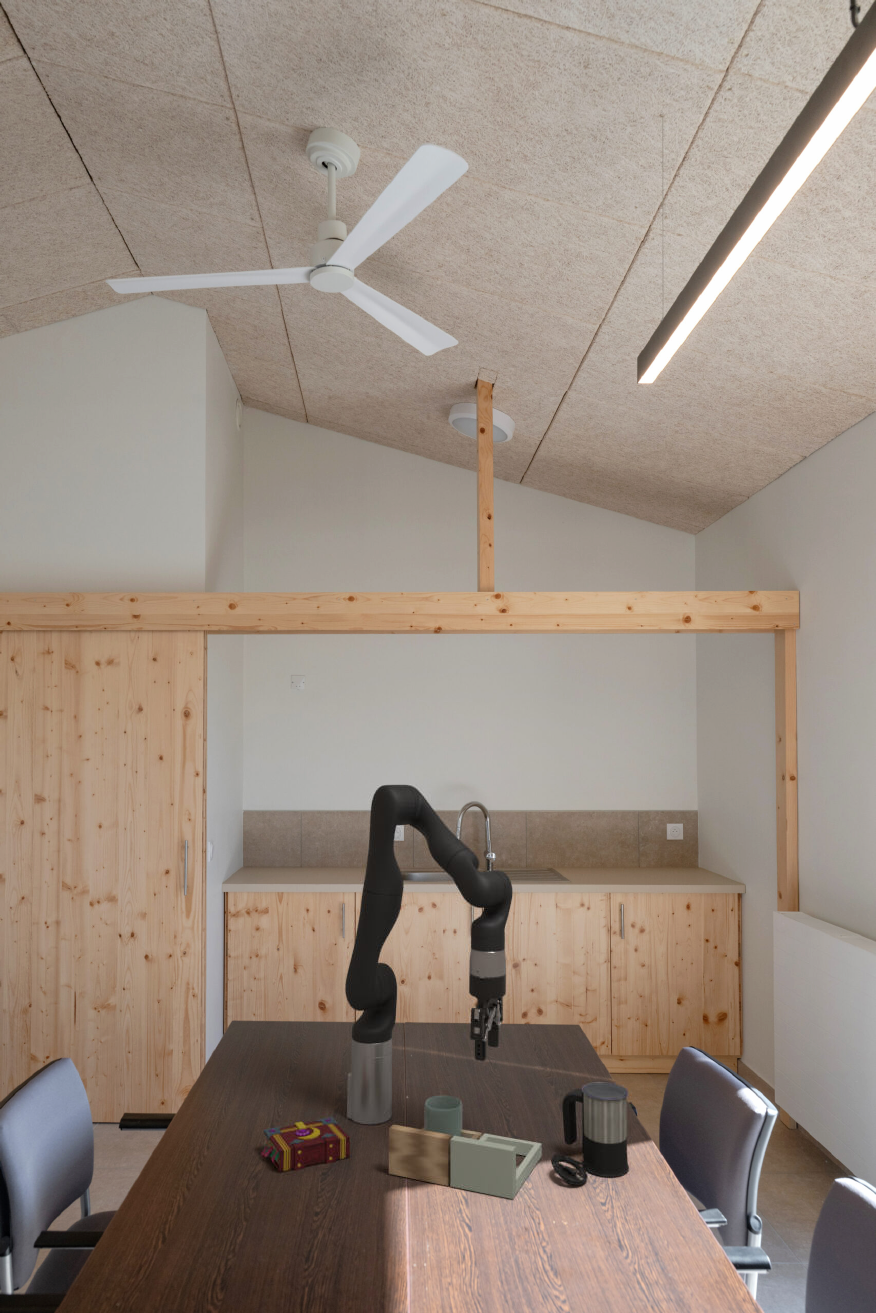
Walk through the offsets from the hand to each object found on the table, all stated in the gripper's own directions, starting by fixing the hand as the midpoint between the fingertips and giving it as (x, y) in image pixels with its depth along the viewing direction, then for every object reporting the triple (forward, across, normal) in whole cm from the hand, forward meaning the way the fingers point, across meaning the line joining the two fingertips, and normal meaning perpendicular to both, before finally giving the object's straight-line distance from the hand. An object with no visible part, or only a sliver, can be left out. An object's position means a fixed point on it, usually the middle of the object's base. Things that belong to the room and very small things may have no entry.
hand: (487, 1053), depth 180 cm
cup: (+22, -2, -10) cm, 24 cm away
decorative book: (+22, +10, -36) cm, 44 cm away
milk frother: (+22, -4, +20) cm, 30 cm away
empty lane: (+21, +2, +3) cm, 22 cm away
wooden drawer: (+22, +1, -10) cm, 24 cm away
